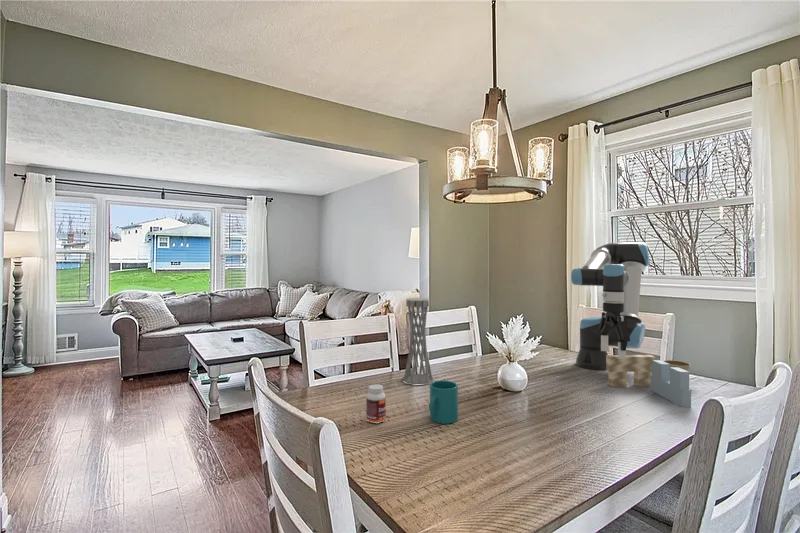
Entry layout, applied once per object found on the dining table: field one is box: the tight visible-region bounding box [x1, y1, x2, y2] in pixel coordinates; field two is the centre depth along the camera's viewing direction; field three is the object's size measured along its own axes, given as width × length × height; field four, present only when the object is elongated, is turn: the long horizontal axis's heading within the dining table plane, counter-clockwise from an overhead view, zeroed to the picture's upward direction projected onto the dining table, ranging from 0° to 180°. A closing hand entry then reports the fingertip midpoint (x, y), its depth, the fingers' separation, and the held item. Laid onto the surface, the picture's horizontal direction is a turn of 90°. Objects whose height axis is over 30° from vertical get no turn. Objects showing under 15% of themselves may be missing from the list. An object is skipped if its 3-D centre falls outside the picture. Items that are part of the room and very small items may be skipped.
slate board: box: [650, 359, 692, 408], centre depth 148 cm, size 18×3×12 cm, turn 179°
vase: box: [401, 297, 435, 385], centre depth 171 cm, size 14×13×35 cm
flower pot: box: [662, 359, 692, 372], centre depth 165 cm, size 9×9×9 cm
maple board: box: [605, 354, 656, 388], centre depth 163 cm, size 18×3×12 cm, turn 89°
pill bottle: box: [365, 384, 387, 422], centre depth 129 cm, size 6×6×11 cm
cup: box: [428, 380, 459, 425], centre depth 129 cm, size 9×12×11 cm
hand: (612, 354), depth 163 cm, fingers open, 13 cm apart
